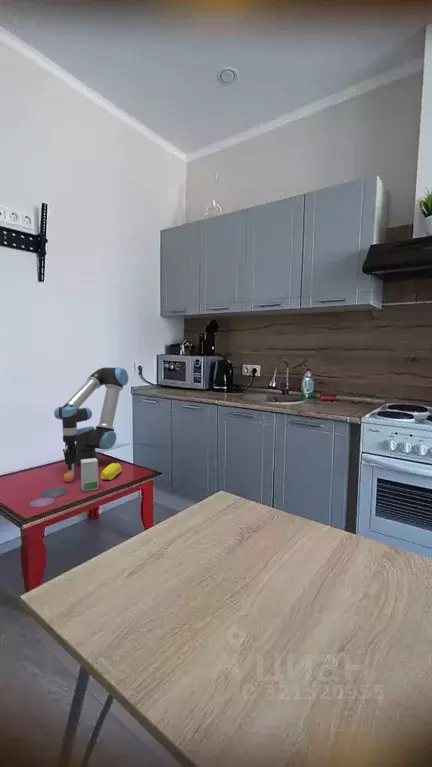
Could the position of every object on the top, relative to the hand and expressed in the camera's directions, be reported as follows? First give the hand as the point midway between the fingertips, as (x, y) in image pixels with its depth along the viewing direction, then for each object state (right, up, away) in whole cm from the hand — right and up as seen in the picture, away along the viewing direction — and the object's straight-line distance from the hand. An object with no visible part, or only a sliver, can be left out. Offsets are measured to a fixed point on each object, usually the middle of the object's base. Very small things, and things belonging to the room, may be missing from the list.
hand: (71, 475), depth 212 cm
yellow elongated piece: (+22, -2, +5) cm, 23 cm away
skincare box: (+15, -4, -13) cm, 21 cm away
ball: (0, 0, -4) cm, 4 cm away
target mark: (-1, -5, -19) cm, 19 cm away
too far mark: (-2, -6, -31) cm, 31 cm away
